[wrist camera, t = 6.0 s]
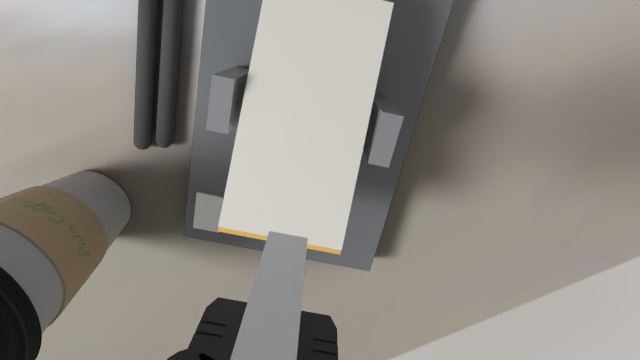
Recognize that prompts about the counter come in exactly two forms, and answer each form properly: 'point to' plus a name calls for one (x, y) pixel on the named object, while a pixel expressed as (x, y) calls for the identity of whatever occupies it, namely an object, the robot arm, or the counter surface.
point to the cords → (166, 74)
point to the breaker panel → (381, 138)
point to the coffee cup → (52, 252)
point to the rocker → (305, 119)
